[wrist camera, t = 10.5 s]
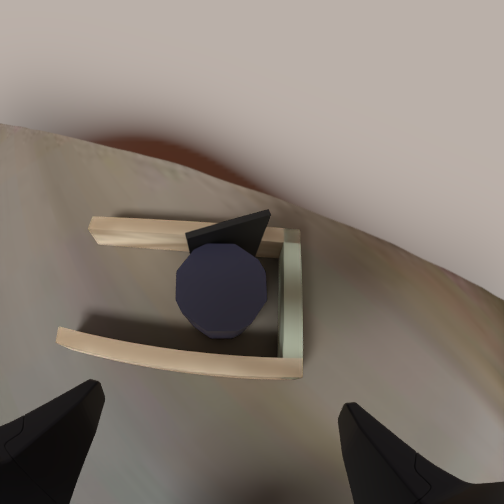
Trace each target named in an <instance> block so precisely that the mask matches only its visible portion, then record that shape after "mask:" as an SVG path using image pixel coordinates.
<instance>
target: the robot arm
mask: <svg viewBox="0 0 504 504" xmlns="http://www.w3.org/2000/svg"><path fill="white" fill-rule="evenodd" d="M104 402H105V395H104V392H103V389H102V386H101V383H100V382H99V381H96V380H92V379H89V380H87V381H85V382H84V383H82V384H80V385H78V386H76V387H75V388H73V389H71V390H69V391H68V392H66V393H64V394H62V395H60V396H59V397H57V398H55V399H53V400H51V401H49V402H48V403H46V404H44V405H42V406H40V407H38V408H37V409H35V410H33V411H31V412H29V413H27V414H25V416H21V417H20V418H18V419H16V420H14V421H12V422H10V423H7V424H5V425H3V426H0V504H69V503H70V500H71V497H72V494H73V491H74V488H75V486H76V483H77V480H78V477H79V474H80V472H81V469H82V466H83V464H84V461H85V458H86V456H87V453H88V451H89V448H90V446H91V443H92V441H93V438H94V436H95V433H96V430H97V427H98V423H99V419H100V416H101V412H102V409H103V406H104ZM338 426H339V433H340V441H341V449H342V455H343V460H344V464H345V468H346V472H347V476H348V480H349V484H350V488H351V492H352V496H353V500H354V504H504V482H495V483H482V484H472V483H468V482H465V481H462V480H460V479H459V478H457V477H455V476H453V475H451V474H449V473H448V472H446V471H444V470H442V469H441V468H439V467H437V466H436V465H434V464H433V463H431V462H430V461H428V460H427V459H426V458H424V457H423V456H421V455H420V454H419V453H416V451H415V450H414V449H412V448H411V447H410V446H408V445H407V444H406V443H405V442H403V441H402V440H401V439H400V438H398V437H397V436H396V435H395V434H393V433H392V432H391V431H390V430H388V429H387V428H386V427H385V426H384V425H382V424H381V423H380V422H379V421H377V420H376V419H375V418H374V417H373V416H371V415H370V414H369V413H368V412H367V411H365V410H364V409H363V408H362V407H361V406H359V405H358V404H357V403H355V402H351V403H345V404H344V406H343V408H342V410H341V412H340V415H339V417H338Z"/></svg>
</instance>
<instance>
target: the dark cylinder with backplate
mask: <svg viewBox="0 0 504 504" xmlns="http://www.w3.org/2000/svg"><path fill="white" fill-rule="evenodd" d="M270 216H271V214H270V211H269V209H268V210H264V211H260V212H257V213H253V214H249V215H246V216H242V217H238V218H235V219H231V220H228V221H224V222H221V223H217V224H214V225H210V226H207V227H203V228H200V229H196V230H193V231H190V232H186V233H185V236H186V240H187V244H188V249H189V253H190V255H189V256H188V258H187V259H186V260H185V261H184V263H183V264H182V265H181V266H180V268H179V269H178V270H177V273H176V302H177V304H178V306H179V308H180V310H181V312H182V314H183V315H184V316H185V317H186V318H187V319H188V320H189V322H190V323H191V324H192V325H193V326H194V327H195V328H197V329H198V330H199V331H201V332H202V333H204V334H205V335H206V336H208V337H209V338H211V339H232V338H234V337H236V336H238V335H240V334H241V333H242V332H243V331H244V330H245V329H246V328H247V327H248V326H249V325H250V324H251V323H252V322H253V320H254V319H255V317H256V316H257V314H258V313H259V311H260V310H261V308H262V307H263V305H264V304H265V302H266V301H267V288H266V272H265V270H264V268H263V267H262V265H261V263H260V261H259V260H258V259H257V258H255V256H256V253H257V251H258V248H259V245H260V243H261V240H262V237H263V235H264V232H265V229H266V227H267V224H268V221H269V219H270Z"/></svg>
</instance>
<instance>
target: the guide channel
mask: <svg viewBox="0 0 504 504" xmlns="http://www.w3.org/2000/svg"><path fill="white" fill-rule="evenodd" d="M214 224H217V223H208V222H193V221H176V220H158V219H139V218H116V217H92V220H91V222H90V225H89V227H88V230H89V231H90V233H91V234H92V236H93V237H94V238H95V240H96V241H97V243H98V244H99V245H111V246H123V247H136V248H149V249H161V250H174V251H187V252H189V249H188V244H187V240H186V236H185V233H186V232H190V231H193V230H196V229H200V228H203V227H207V226H210V225H214ZM255 257H266V258H279V294H278V346H277V358H270V357H249V356H234V355H222V354H211V353H201V352H192V351H183V350H176V349H168V348H161V347H155V346H148V345H142V344H136V343H131V342H125V341H120V340H115V339H110V338H105V337H100V336H96V335H91V334H87V333H83V332H78V331H74V330H70V329H66V328H63V327H59V328H58V333H57V338H56V343H57V344H60V345H62V346H64V347H67V348H69V349H72V350H75V351H79V352H82V353H86V354H90V355H94V356H98V357H102V358H106V359H110V360H115V361H120V362H124V363H129V364H134V365H139V366H145V367H150V368H156V369H163V370H169V371H176V372H183V373H191V374H200V375H209V376H220V377H232V378H248V379H272V380H295V379H299V378H302V377H303V307H302V269H301V244H300V230H298V229H287V228H275V227H266V229H265V232H264V235H263V237H262V240H261V243H260V245H259V248H258V251H257V253H256V256H255Z"/></svg>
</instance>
